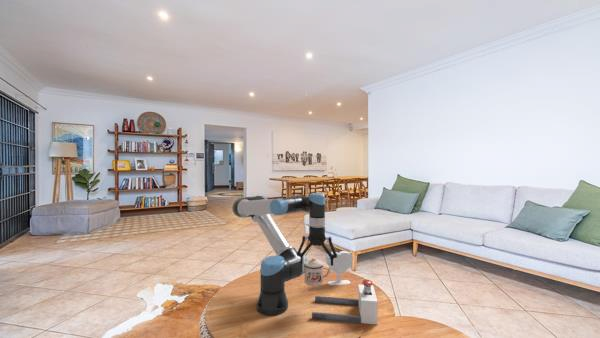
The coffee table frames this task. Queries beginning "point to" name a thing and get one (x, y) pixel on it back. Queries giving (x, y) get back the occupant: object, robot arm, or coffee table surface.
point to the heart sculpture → (340, 266)
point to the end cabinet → (368, 306)
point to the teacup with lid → (314, 272)
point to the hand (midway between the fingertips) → (316, 271)
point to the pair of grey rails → (336, 316)
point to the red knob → (367, 287)
